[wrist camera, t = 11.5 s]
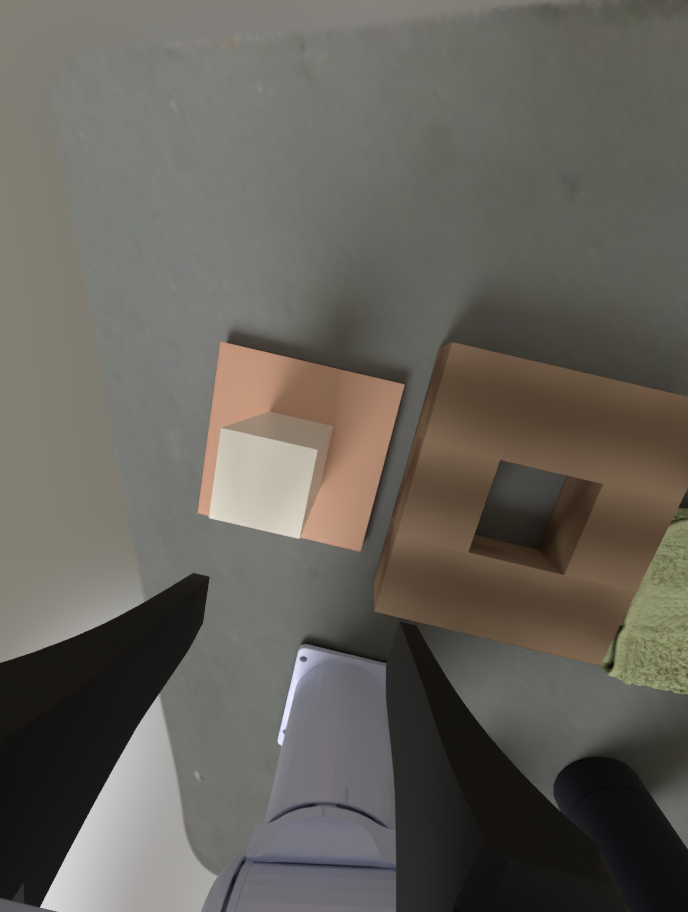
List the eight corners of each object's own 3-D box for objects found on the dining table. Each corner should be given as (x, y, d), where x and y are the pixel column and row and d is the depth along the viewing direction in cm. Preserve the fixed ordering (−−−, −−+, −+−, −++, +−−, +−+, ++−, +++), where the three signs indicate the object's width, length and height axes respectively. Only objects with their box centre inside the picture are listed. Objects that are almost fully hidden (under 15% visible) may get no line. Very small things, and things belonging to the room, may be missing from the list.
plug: (320, 487, 21) (299, 538, 14) (258, 473, 21) (209, 517, 14) (333, 426, 20) (317, 450, 13) (269, 411, 20) (220, 427, 14)
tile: (360, 545, 23) (360, 551, 22) (203, 508, 23) (197, 512, 22) (403, 384, 20) (404, 384, 19) (226, 343, 20) (220, 341, 20)
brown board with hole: (570, 629, 23) (599, 665, 20) (373, 582, 23) (374, 611, 20) (674, 402, 20) (728, 406, 17) (439, 347, 20) (452, 342, 17)
